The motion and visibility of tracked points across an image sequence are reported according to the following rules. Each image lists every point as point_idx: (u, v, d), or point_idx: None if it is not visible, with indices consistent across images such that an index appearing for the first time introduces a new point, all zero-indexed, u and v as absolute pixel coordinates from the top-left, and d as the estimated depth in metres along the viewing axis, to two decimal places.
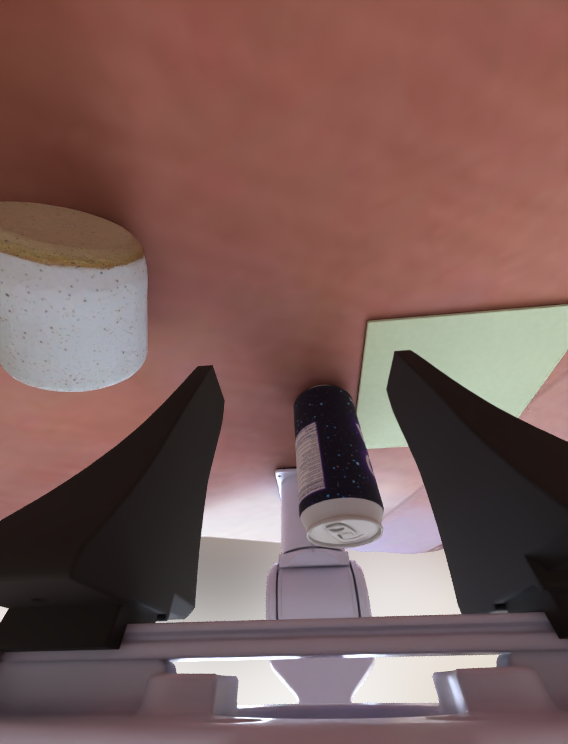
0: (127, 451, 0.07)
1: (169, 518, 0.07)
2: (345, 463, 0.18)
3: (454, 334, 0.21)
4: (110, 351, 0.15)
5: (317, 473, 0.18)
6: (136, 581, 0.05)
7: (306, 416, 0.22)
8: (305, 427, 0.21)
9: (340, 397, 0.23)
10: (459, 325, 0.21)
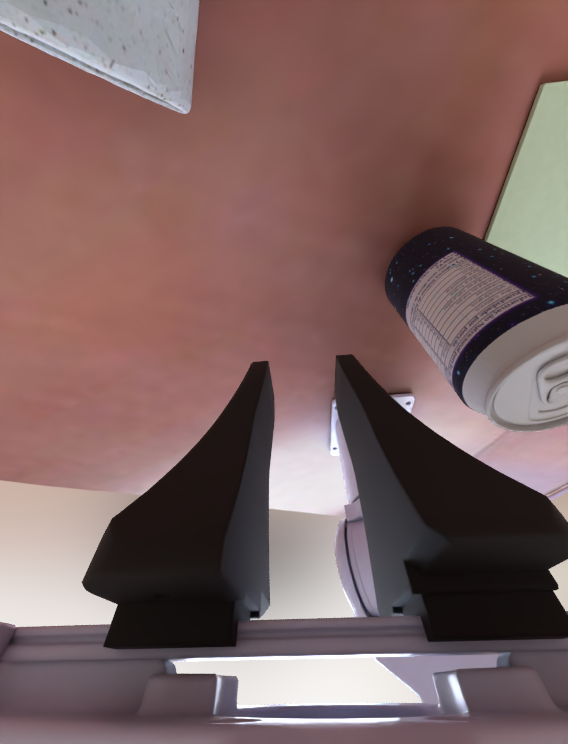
0: (215, 445, 0.06)
1: (255, 514, 0.07)
2: (550, 272, 0.10)
3: None
4: None
5: (501, 289, 0.10)
6: (246, 577, 0.05)
7: (429, 255, 0.14)
8: (435, 263, 0.13)
9: (473, 236, 0.15)
10: None
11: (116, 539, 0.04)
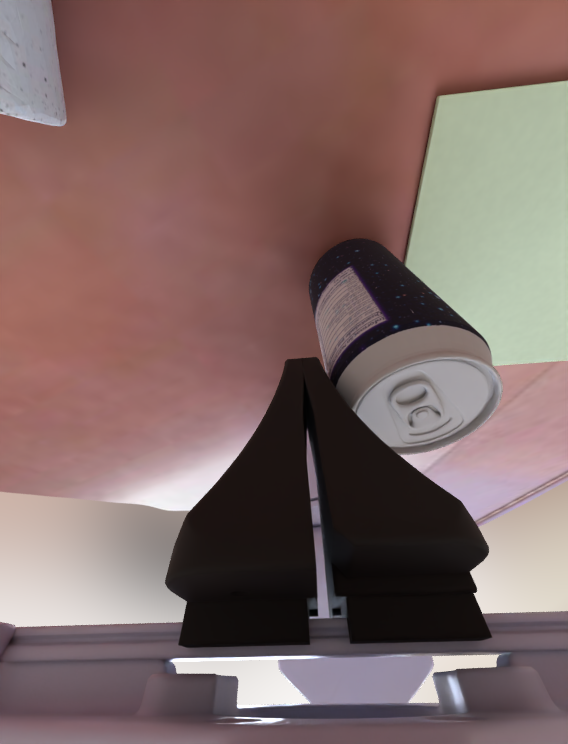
0: (270, 442, 0.06)
1: None
2: (417, 292, 0.10)
3: None
4: None
5: (367, 309, 0.10)
6: None
7: (333, 269, 0.14)
8: (334, 278, 0.13)
9: (384, 249, 0.15)
10: None
11: (201, 536, 0.04)
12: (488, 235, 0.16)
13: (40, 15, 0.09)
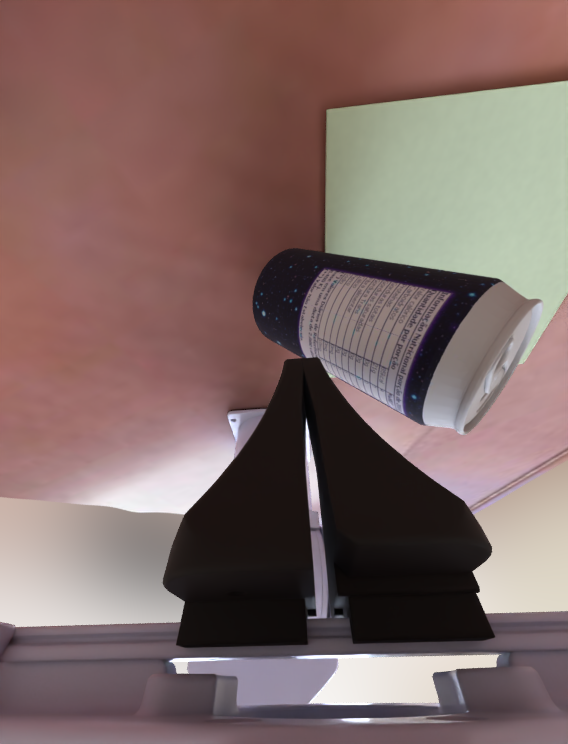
0: (268, 442, 0.06)
1: None
2: (430, 268, 0.10)
3: (465, 141, 0.13)
4: None
5: (410, 293, 0.09)
6: None
7: (299, 277, 0.12)
8: (312, 285, 0.12)
9: None
10: (474, 118, 0.13)
11: (198, 536, 0.04)
12: (401, 243, 0.16)
13: None
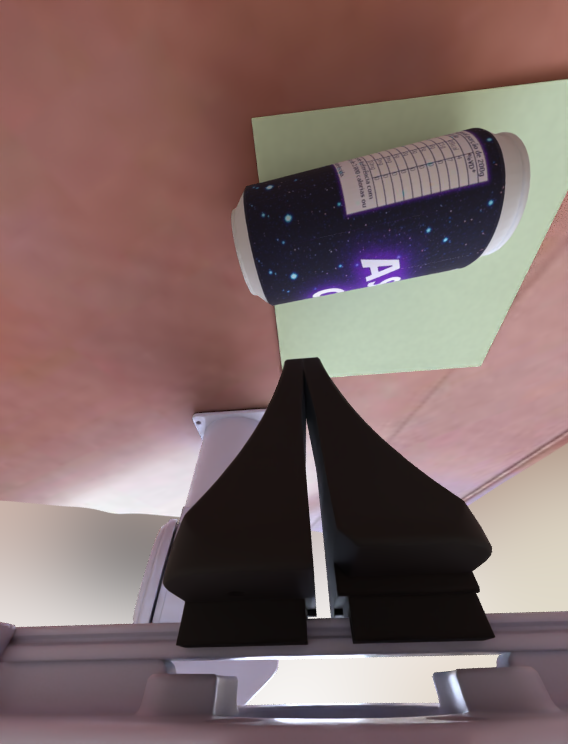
0: (268, 442, 0.06)
1: None
2: None
3: (392, 148, 0.13)
4: None
5: None
6: None
7: None
8: None
9: None
10: (398, 126, 0.13)
11: (198, 535, 0.04)
12: None
13: None
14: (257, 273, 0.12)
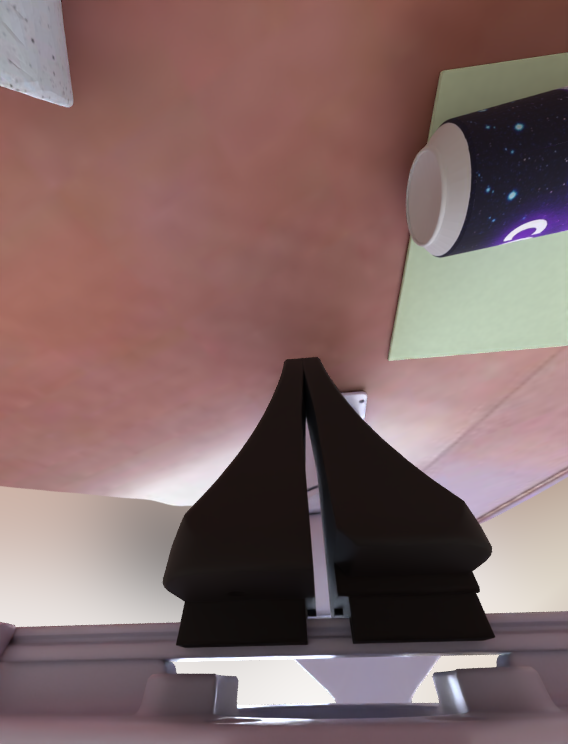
0: (268, 442, 0.06)
1: None
2: None
3: None
4: None
5: None
6: None
7: None
8: None
9: None
10: None
11: (198, 535, 0.04)
12: None
13: None
14: (470, 193, 0.11)
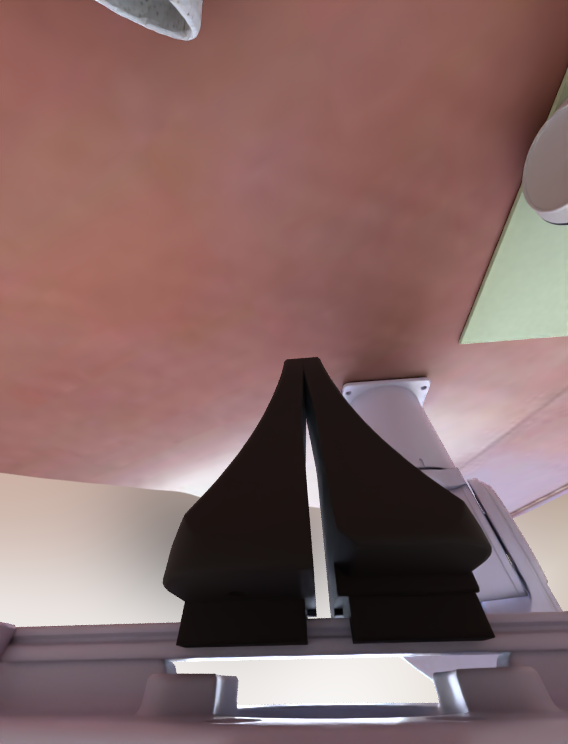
0: (268, 442, 0.06)
1: None
2: None
3: None
4: None
5: None
6: None
7: None
8: None
9: None
10: None
11: (198, 536, 0.04)
12: None
13: None
14: None
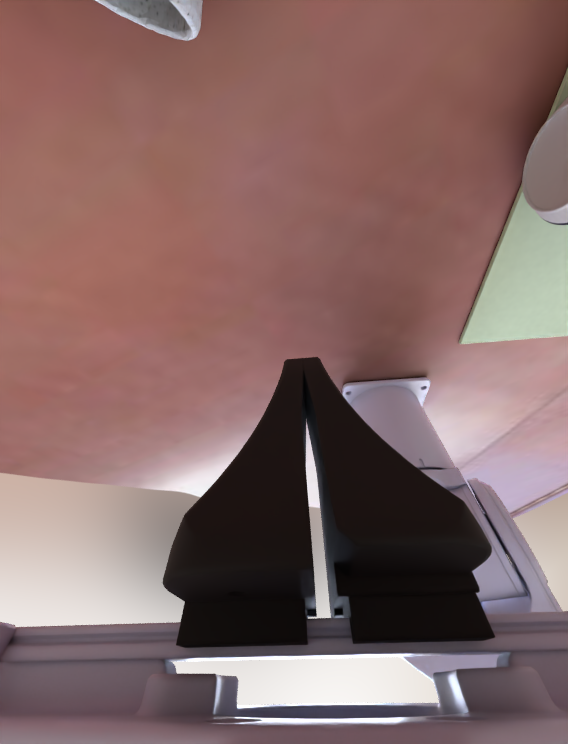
0: (268, 442, 0.06)
1: None
2: None
3: None
4: None
5: None
6: None
7: None
8: None
9: None
10: None
11: (198, 536, 0.04)
12: None
13: None
14: None
